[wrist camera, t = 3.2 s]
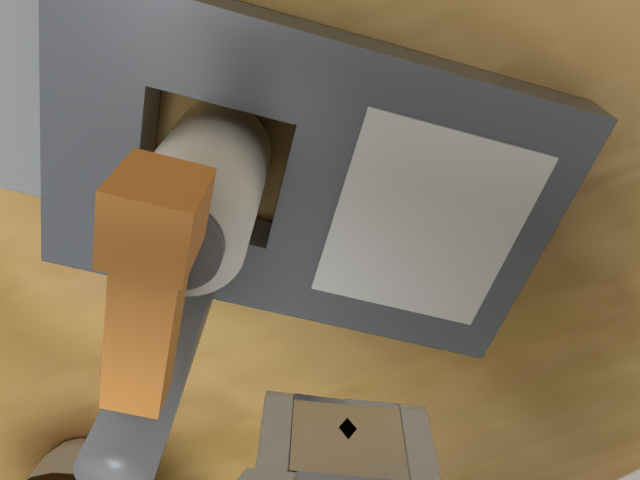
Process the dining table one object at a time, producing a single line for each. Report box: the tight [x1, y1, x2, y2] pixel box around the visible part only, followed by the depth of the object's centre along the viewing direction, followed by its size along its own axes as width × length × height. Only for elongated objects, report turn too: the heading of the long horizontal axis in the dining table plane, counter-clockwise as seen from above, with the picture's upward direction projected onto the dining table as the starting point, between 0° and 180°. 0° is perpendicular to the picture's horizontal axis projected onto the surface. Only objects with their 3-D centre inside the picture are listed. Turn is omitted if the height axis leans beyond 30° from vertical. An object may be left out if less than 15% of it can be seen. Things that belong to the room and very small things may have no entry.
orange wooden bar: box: [92, 148, 217, 420], centre depth 15 cm, size 2×8×3 cm, turn 165°
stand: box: [39, 0, 618, 480], centre depth 20 cm, size 22×13×13 cm, turn 75°
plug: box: [154, 102, 272, 296], centre depth 21 cm, size 5×5×9 cm
